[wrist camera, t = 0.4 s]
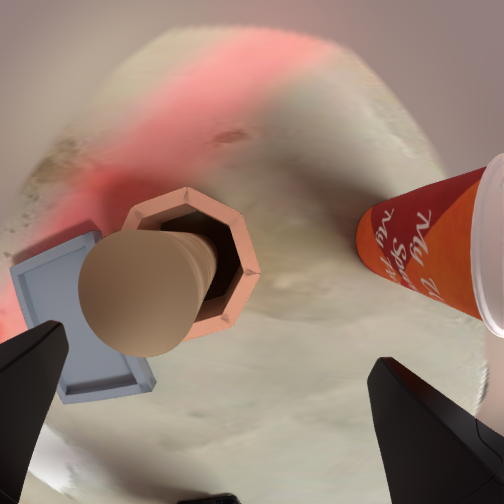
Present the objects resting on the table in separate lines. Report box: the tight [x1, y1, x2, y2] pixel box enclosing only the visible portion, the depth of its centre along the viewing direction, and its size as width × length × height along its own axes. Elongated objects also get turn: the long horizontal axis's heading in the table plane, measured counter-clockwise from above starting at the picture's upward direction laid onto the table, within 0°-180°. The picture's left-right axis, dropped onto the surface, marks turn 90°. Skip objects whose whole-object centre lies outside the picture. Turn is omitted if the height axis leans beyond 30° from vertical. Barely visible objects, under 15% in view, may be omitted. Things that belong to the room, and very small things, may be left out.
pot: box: [120, 187, 261, 341], centre depth 17 cm, size 8×8×5 cm
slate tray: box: [9, 231, 156, 404], centre depth 19 cm, size 12×9×2 cm
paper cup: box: [356, 153, 504, 338], centre depth 14 cm, size 8×8×14 cm
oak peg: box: [78, 230, 219, 357], centre depth 13 cm, size 4×4×12 cm
